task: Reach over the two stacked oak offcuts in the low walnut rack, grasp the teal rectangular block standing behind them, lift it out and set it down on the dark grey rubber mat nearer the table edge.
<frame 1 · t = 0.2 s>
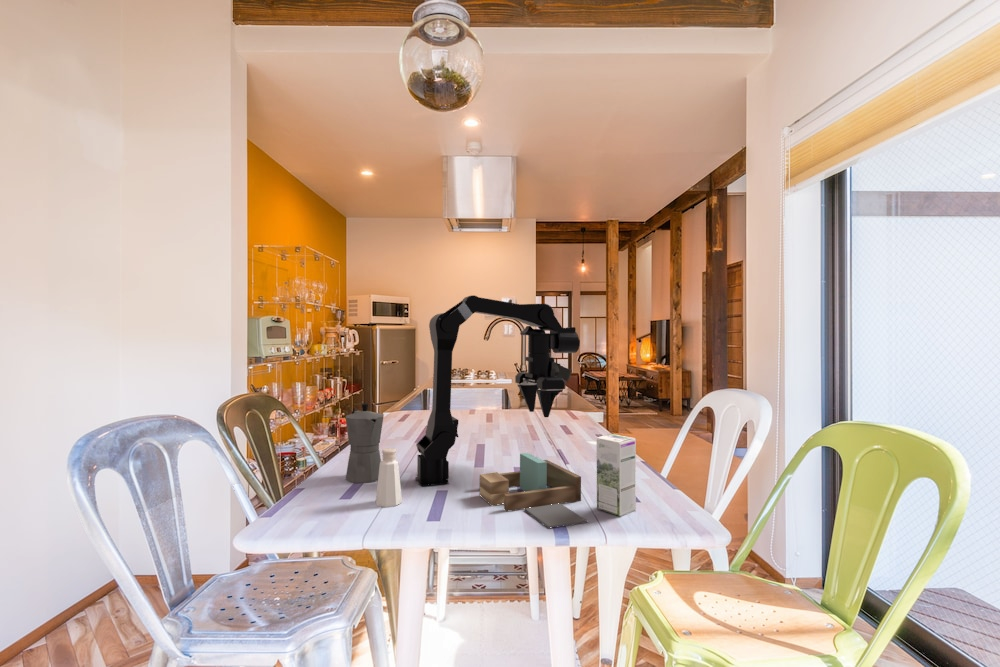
hand: (538, 414, 127), 14 cm above the table, tool pointing down, fingers open, 9 cm apart
offcut upper: (494, 489, 105), point 2 cm above the table
pepper shaker: (388, 504, 102), on the table
teal rectangular block: (532, 494, 108), resting in rack
coffeepot: (363, 477, 121), on the table
mat: (554, 516, 95), on the table
offcut lower: (494, 501, 105), on the table
syrup box: (616, 510, 99), on the table
rack: (528, 494, 108), on the table
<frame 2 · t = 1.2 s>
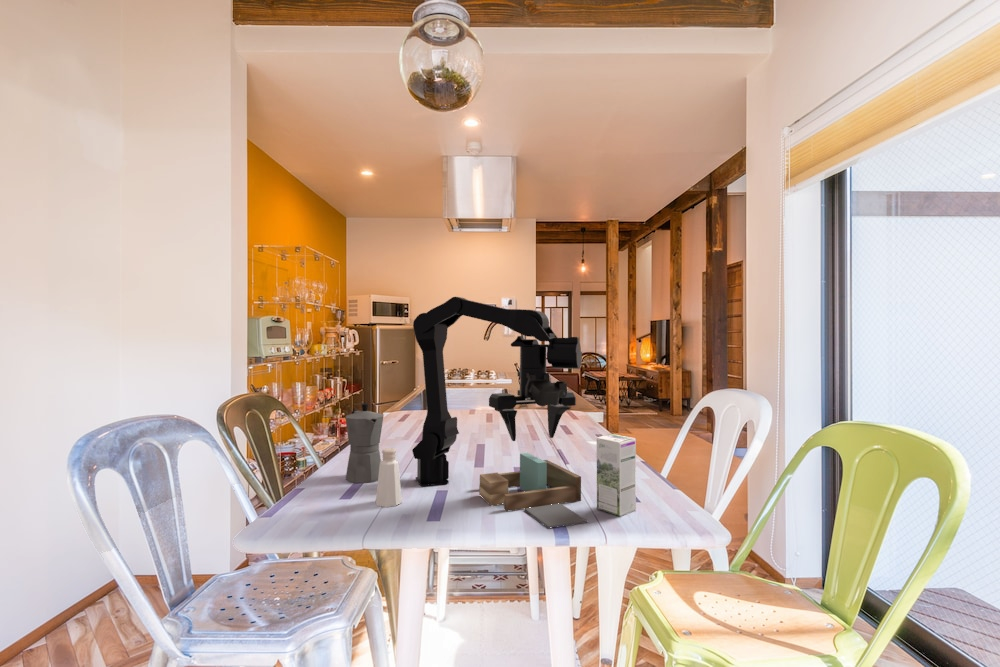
hand: (532, 439, 109), 12 cm above the table, tool pointing down, fingers open, 9 cm apart
offcut upper: (493, 489, 105), point 2 cm above the table, touching offcut lower
offcut lower: (493, 500, 105), on the table, touching offcut upper
everything else where it was.
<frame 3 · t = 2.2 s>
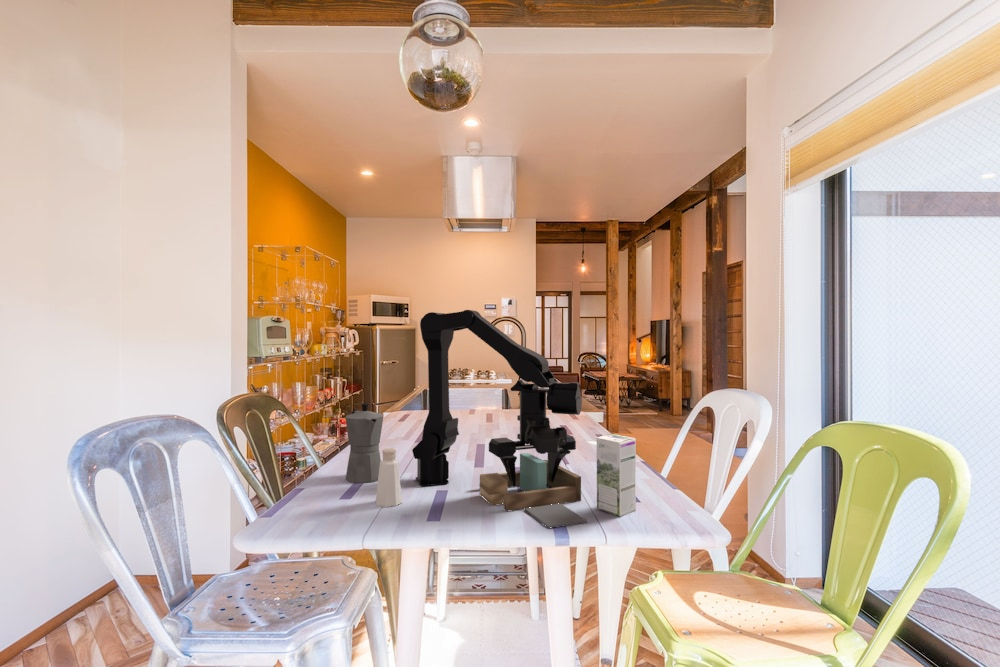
hand: (532, 483, 108), 2 cm above the table, tool pointing down, fingers open, 9 cm apart
nothing on the table moved.
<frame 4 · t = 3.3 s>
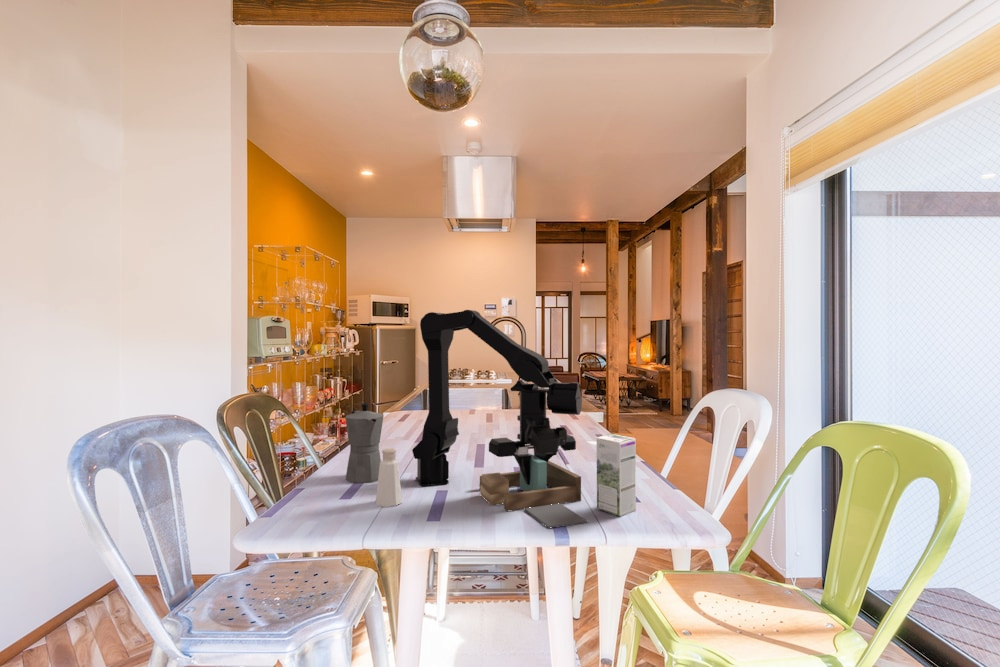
hand: (532, 483, 108), 2 cm above the table, tool pointing down, fingers closed on teal rectangular block, 2 cm apart
offcut upper: (494, 489, 105), point 2 cm above the table
teal rectangular block: (532, 494, 108), resting in rack, touching gripper
offcut lower: (494, 500, 105), on the table
everything else where it was.
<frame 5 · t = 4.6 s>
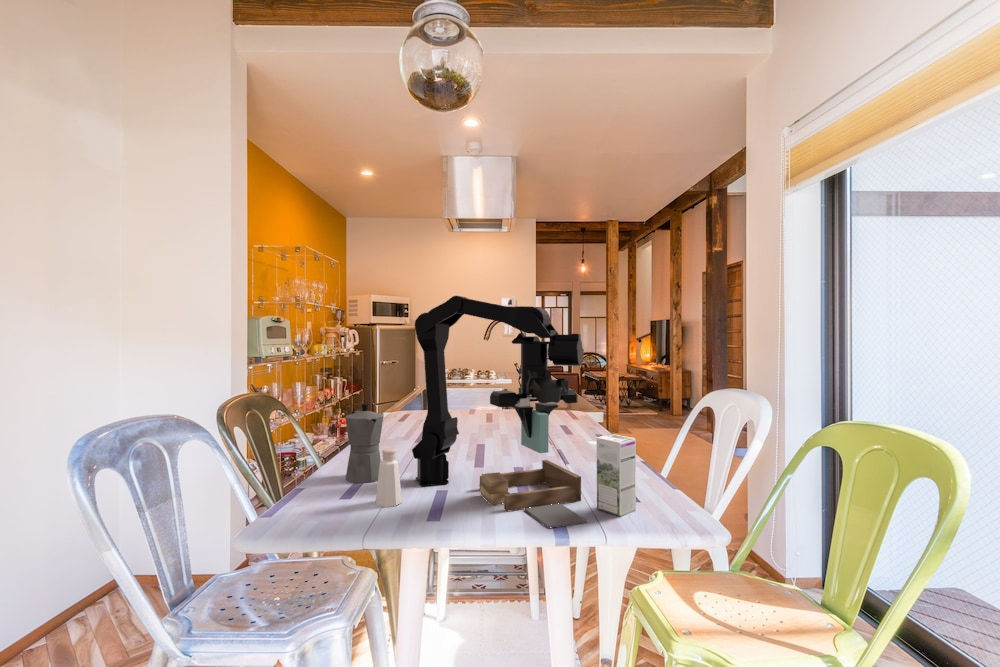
hand: (534, 437, 108), 13 cm above the table, tool pointing down, fingers closed on teal rectangular block
teal rectangular block: (534, 448, 108), point 10 cm above the table, touching gripper
everything else where it was.
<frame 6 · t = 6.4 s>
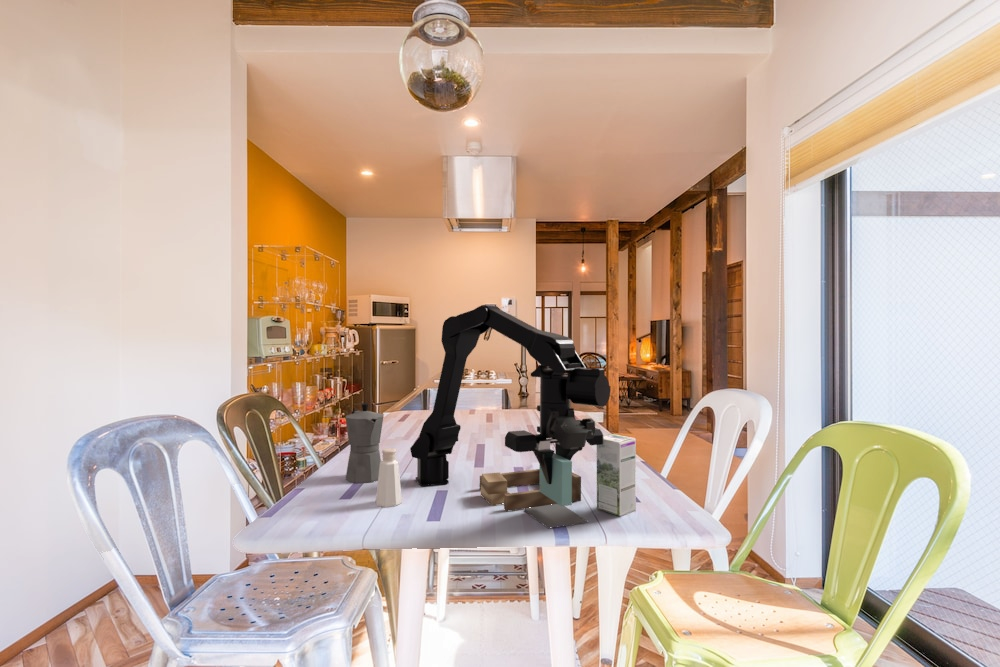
hand: (554, 483, 95), 6 cm above the table, tool pointing down, fingers closed on teal rectangular block
offcut upper: (494, 489, 105), point 2 cm above the table, touching offcut lower
teal rectangular block: (554, 498, 95), point 3 cm above the table, touching gripper
offcut lower: (494, 500, 105), on the table, touching offcut upper
everything else where it was.
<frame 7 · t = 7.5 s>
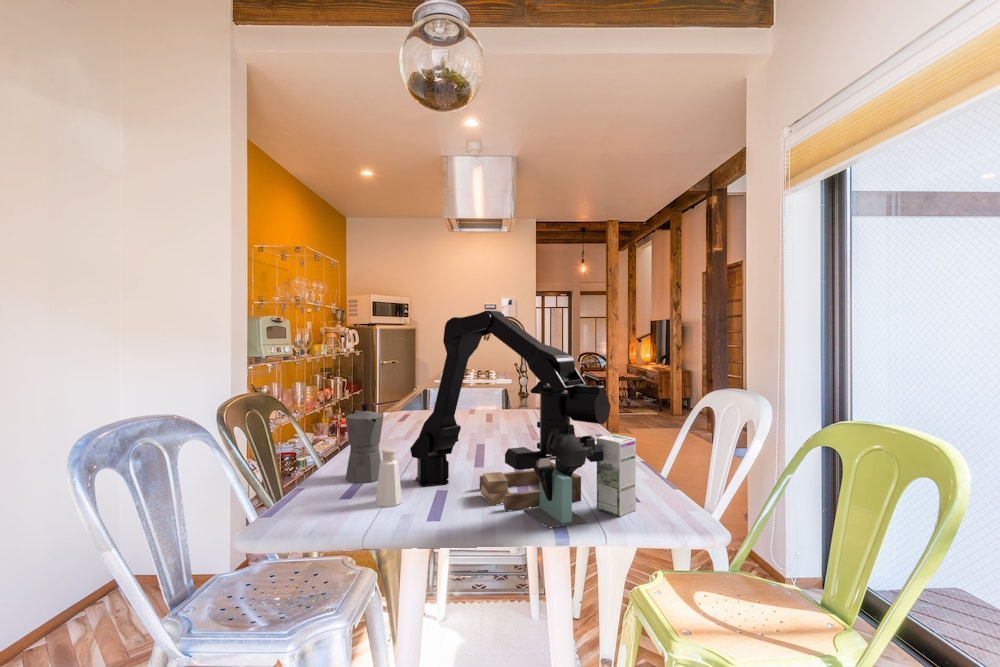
hand: (554, 499, 95), 3 cm above the table, tool pointing down, fingers closed on teal rectangular block, 2 cm apart
offcut upper: (495, 488, 105), point 2 cm above the table
teal rectangular block: (555, 514, 95), resting on mat, touching gripper
offcut lower: (495, 500, 105), on the table
everything else where it was.
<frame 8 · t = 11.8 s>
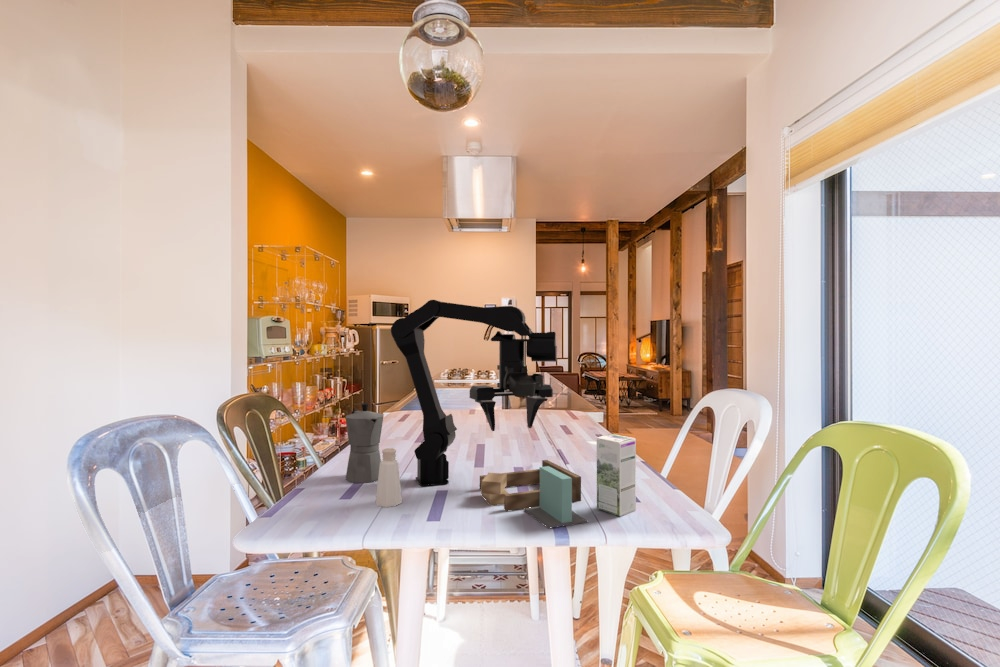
hand: (511, 429, 114), 13 cm above the table, tool pointing down, fingers open, 9 cm apart
teal rectangular block: (555, 514, 95), resting on mat
at the end: teal rectangular block inside the target area on the mat (0.1 cm from its centre), point 0.4 cm above the mat's base; teal rectangular block moved 13.7 cm from its start; the gripper is holding nothing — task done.
